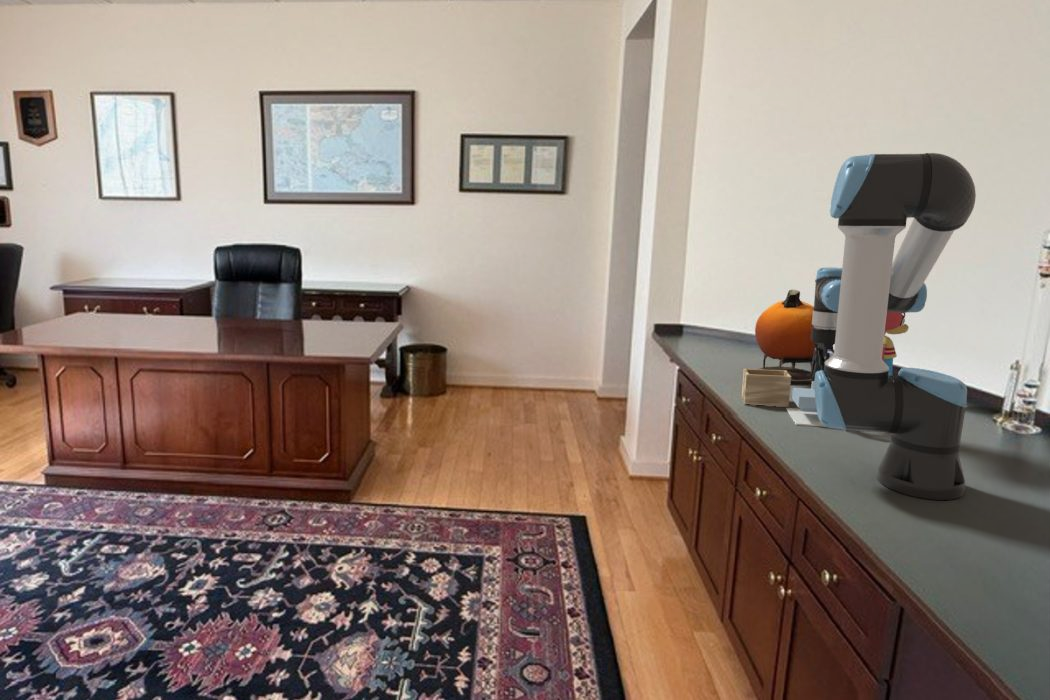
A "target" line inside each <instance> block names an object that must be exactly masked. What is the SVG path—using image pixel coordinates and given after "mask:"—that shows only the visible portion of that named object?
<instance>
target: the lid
mask: <svg viewBox="0 0 1050 700" xmlns="http://www.w3.org/2000/svg"><path fill="white" fill-rule="evenodd" d="M791 393H792V394H791V399H792V400H793V402H794V404H795V405H796V406H797V409H801V410H802V411H803V412H817V409H816V401H815V389H811V388H806V387H804V388H803V387H802V388H801V387H792V392H791Z"/></svg>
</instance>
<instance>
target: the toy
mask: <svg viewBox="0 0 1050 700" xmlns="http://www.w3.org/2000/svg"><path fill="white" fill-rule="evenodd" d="M905 318H906V313H899V312H887V315H886V324H885V333H884V342H883V351H882V360H883V361H884V362H885V363H886V365H887V366H888V367H889V375H892V376H893V364H894V359H895V358H896V357H897V352H896V348H895V345H894V342H893V340H892V339H891V338H890V337H889V336H887V335H886V334H888V335H901V334H906V333H907V332H908V330H909V325H908V324H907V323H905V322H906V319H905Z"/></svg>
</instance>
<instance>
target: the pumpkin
mask: <svg viewBox="0 0 1050 700" xmlns="http://www.w3.org/2000/svg"><path fill="white" fill-rule="evenodd" d="M800 296H801V291H800V290H797V289H789V290H788V292H787V294H786V298H785V300H780V301H778V302H775V303H773V304H771V305H770V306H769V307H768V308H766V309H765V310H764V311H763V312H762V313H761V314H760V316H759V317H758V318H757V320H756V323H755V327H754V328H755V330H754V335H755V336H754V337H755V339H756V342H757V345H758V347H759V349H760V351H761V352H762V353H763V354H764V355H763V360H762V361H763V362H762V367H761V368H759V369H764V370H786V371H787V372H788V373H789V375H790V376H791V385H803V386H804V385H805V386H808V385H812V379H811V378H812V377H811V376H810V374H811V370H810V371H809V370H806V369H803V368H802V369H801V368H798V367H797V368H796V364H802V363H805V364H808V363H809V364H810V369H811V368H812V361H813V355H814V344H815V343H816V342H813V341H811V329H812V327H814V326H813V325H812V316H813V309H814V305H812V304H810V303H809V302H806V301H802V300H801V298H800ZM767 358H770V359H773V360H778V361H779V362H778V363H779V364H778V366H777V365H776V366H766V361H767ZM790 363H791V366H783V365H784V364H790Z"/></svg>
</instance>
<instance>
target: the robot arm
mask: <svg viewBox="0 0 1050 700" xmlns="http://www.w3.org/2000/svg"><path fill="white" fill-rule="evenodd" d="M976 197H977V194H976V186H975V183H974V180H973V177H972V176H971V174H970V172H969V170H967V168H966V167H965V166H964V165H963V164H962V163H961V162H959V161H958V160H956V159H955V158H953V157H951V156H948V155H946V154H944V153H943V154H942V153H936V152H926V153H881V154H879V153H873V154H872V153H871V154H863V155H855V156H854V155H853V156H850V157H848V158H847V159H845V160H844V161H843V163H842V164H841V167H840V169H839V171H838V172H837V175H836V179H835V182H834V188H833V190H832V194H831V201H830V209H829V210H830V211H829V215H830V217H832V219H833V218H834V219H835V220H836V219H838V221H837V228H838V230H839V231H840V232H841V233H843V235H844V246H843V257H842V259H843V260H842V267H829V266H828V267H820V268H819V269H817V271H816V278H815V288H814V302H813V306H814V309H813V316H812V325H813V326H814V327H812V329H811V341H813V342H816V343H815V344H814V355H813V358H812V359H813V361H812V368H811V367H810V371H811V374H810V376H811V377H812V378H811V379H812V384H811V387H810V389H815V401H816V409H817V414H818V418H819V420H820V422H821V423H822V425H824V426H825V428H830V429H837V430H838V429H839V430H842V431H858V432H859V431H860V432H870V433H871V432H872V433H882V434H883V433H884V434H885V433H886V434H891V439H890V444H888V448H887V449H886V452H885V453H884V455H883V457H882V458H881V461H880V462H879V464H878V467H877V472H876V478H877V480H878V482H879V483H880V484H882V485H883V486H885V487H886V488H888V489H890V490H892V491H895V492H898V493H901V494H903V495H906V496H911V497H913V498H914V497H915V498H920V499H924V500H925V499H927V500H933V501H934V500H936V501H949V500H956V499H959V498H962V497H963V496H964V494H965V489H966V479H965V476H964V470H963V466H962V463H961V459H960V447H961V446H960V445H961V440H962V432H963V427H964V419H965V414H966V409H967V408H968V403H967V401H968V400H967V398H968V397H967V396H968V387H967V386H966V384H965V383H964V382H963V381H962V380H961V379H959V378H957V377H954V376H951V375H948V374H946V373H943V372H942V373H941V372H938V371H934V370H929V369H923V368H917V367H902V368H900V370H899V371H898V373H897V375H893V374H892V375H889V367H888V366H887V365H886V363H885V362H884V361H883V360H882V351H883V342H884V333H885V324H886V315H887V312H899V313H902V314H903V313H905V314H906V313H919V312H921V311H923V309H924V308H925V307H926V306H925V305H926V302H927V297H928V289H927V286H926V283H925V281H926V280H927V278H928V276H929V274H930V273H931V272H932V270H933V268H934V266H935V265H936V263H937V261H938V260H939V258H940V256H941V254H942V253H943V250H944V249H945V247H946V246H947V243H948V242H949V240H950V239H951V237H952V235H953V233H954V232H955V231H957V230H960V228H962V227H963V226H964V225H965V224H966V223H967V221H968V220H969V218H970V217H971V214H972V213H973V211H974V207H975V203H976ZM908 218H909V219H910V218H913V219H912V221H911V224H910V226H909V228H908V230H907V231H906V234H905V236H904V237H903V240H902V242H901V245H900V247H899V249H898V251H897V253H896V255H895V257H894V252H895V242H896V238H897V235H899V234H900V233H901V232H902V231H904V230H905V229H906V228H907V220H908ZM885 334H886V333H885Z"/></svg>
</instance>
